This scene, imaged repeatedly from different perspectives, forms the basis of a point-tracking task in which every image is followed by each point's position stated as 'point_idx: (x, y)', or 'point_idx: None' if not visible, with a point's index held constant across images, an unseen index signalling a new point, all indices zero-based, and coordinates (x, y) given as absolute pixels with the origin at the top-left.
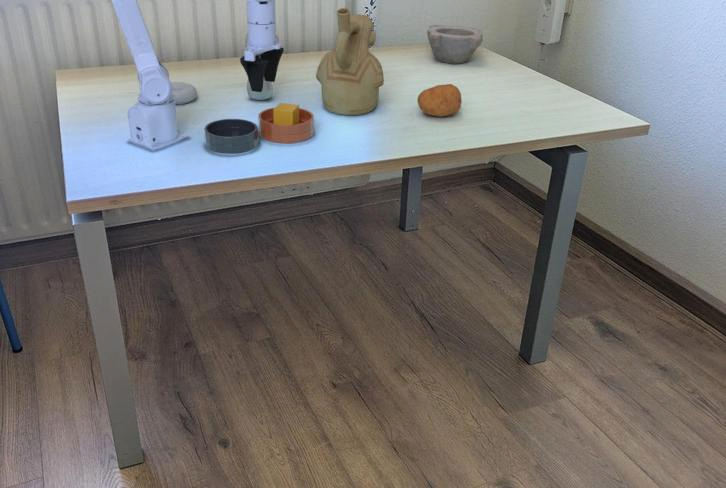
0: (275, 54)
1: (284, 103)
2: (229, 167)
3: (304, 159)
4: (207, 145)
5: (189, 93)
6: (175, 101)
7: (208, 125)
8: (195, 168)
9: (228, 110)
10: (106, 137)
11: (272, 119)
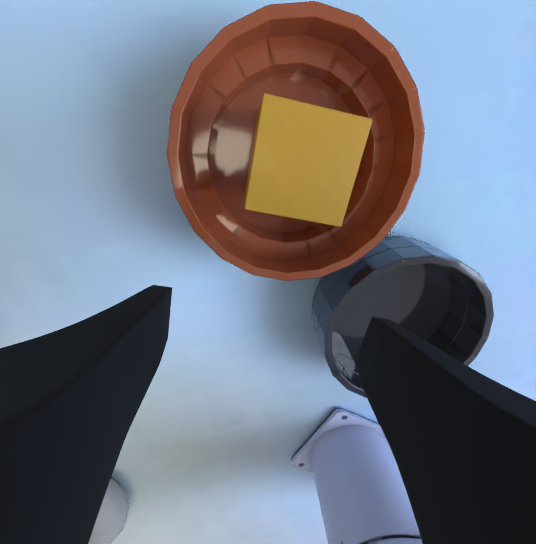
0: (49, 460)
1: (252, 185)
2: (524, 279)
3: (510, 54)
4: None
5: None
6: (123, 495)
7: None
8: (514, 346)
9: None
10: None
11: (244, 228)
